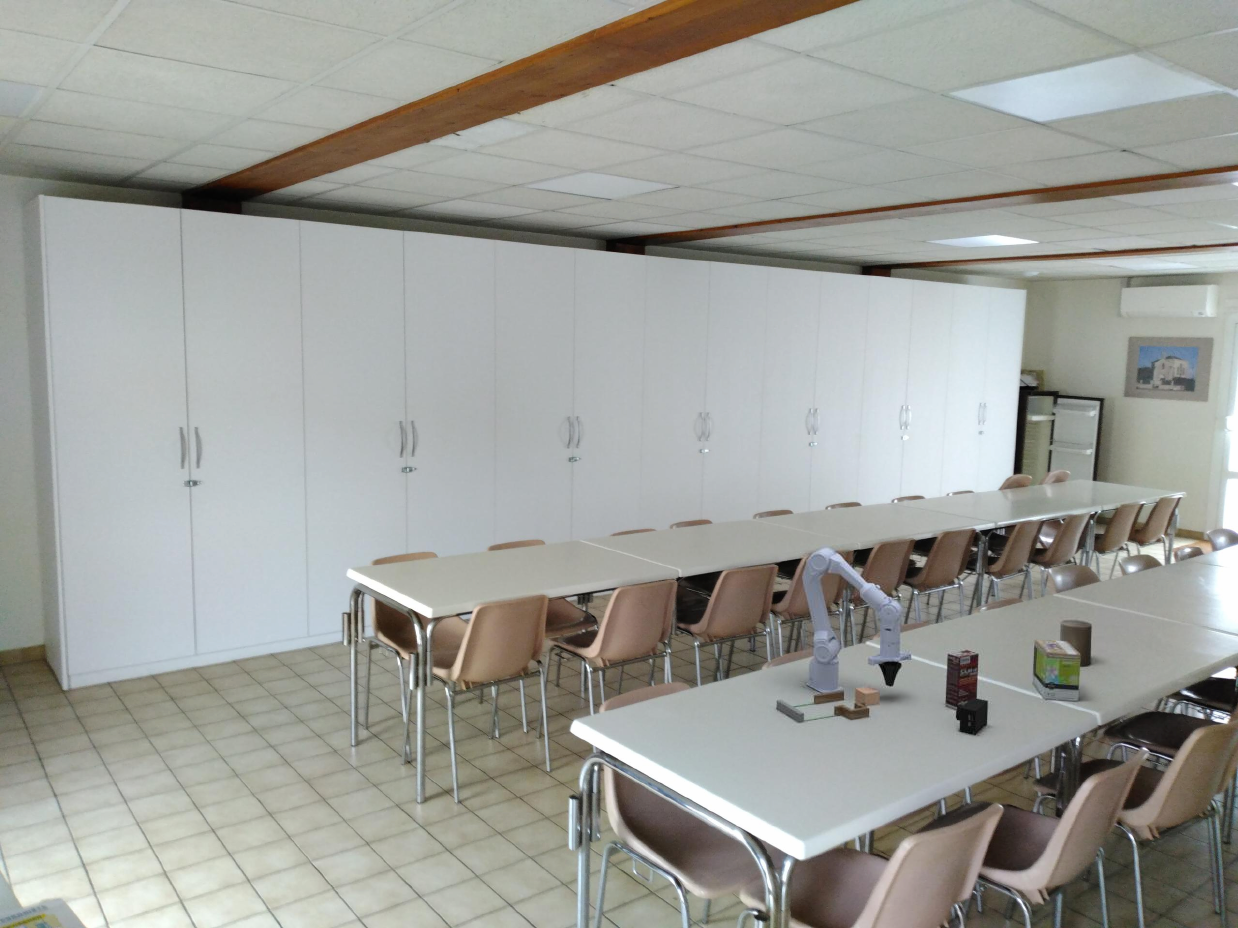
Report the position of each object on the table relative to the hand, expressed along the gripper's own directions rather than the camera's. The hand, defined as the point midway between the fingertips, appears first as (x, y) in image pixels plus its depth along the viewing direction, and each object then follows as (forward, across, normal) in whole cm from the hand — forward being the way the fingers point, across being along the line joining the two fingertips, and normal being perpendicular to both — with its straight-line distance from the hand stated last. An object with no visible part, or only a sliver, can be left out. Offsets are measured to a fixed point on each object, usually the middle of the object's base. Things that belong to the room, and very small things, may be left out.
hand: (889, 685), depth 273 cm
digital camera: (+5, +6, -27) cm, 28 cm away
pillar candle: (+5, +82, +5) cm, 82 cm away
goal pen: (+4, -29, 0) cm, 29 cm away
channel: (+4, -18, -2) cm, 19 cm away
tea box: (+5, +51, -15) cm, 53 cm away
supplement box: (+5, +16, -13) cm, 21 cm away
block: (+4, -8, 0) cm, 9 cm away
